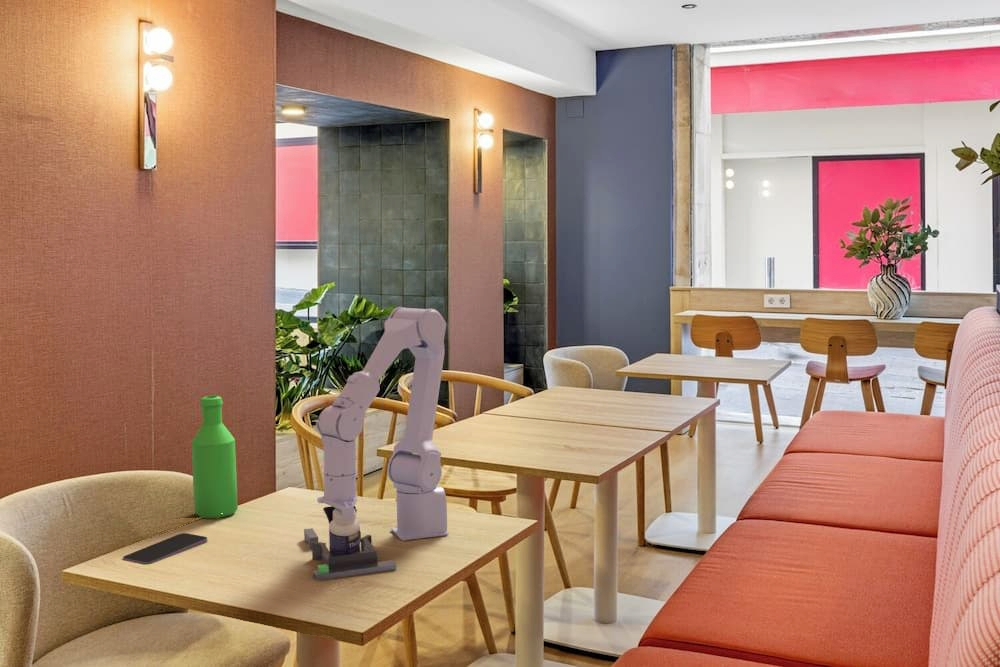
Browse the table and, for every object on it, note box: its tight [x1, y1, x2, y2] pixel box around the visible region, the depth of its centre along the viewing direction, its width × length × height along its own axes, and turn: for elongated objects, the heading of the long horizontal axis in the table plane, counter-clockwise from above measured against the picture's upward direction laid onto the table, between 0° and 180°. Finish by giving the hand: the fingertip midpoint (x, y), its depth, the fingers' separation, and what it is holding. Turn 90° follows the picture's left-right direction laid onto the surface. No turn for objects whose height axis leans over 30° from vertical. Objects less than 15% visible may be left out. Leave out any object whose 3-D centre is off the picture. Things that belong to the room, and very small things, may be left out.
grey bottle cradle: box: [311, 534, 397, 582], centre depth 174 cm, size 14×12×3 cm
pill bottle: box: [328, 508, 361, 555], centre depth 174 cm, size 5×5×10 cm
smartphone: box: [122, 532, 208, 565], centre depth 183 cm, size 7×1×15 cm
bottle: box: [191, 395, 239, 520], centre depth 205 cm, size 9×9×25 cm
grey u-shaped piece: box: [303, 527, 362, 549], centre depth 187 cm, size 10×6×2 cm, turn 111°
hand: (340, 546), depth 177 cm, fingers closed, pressing on pill bottle
